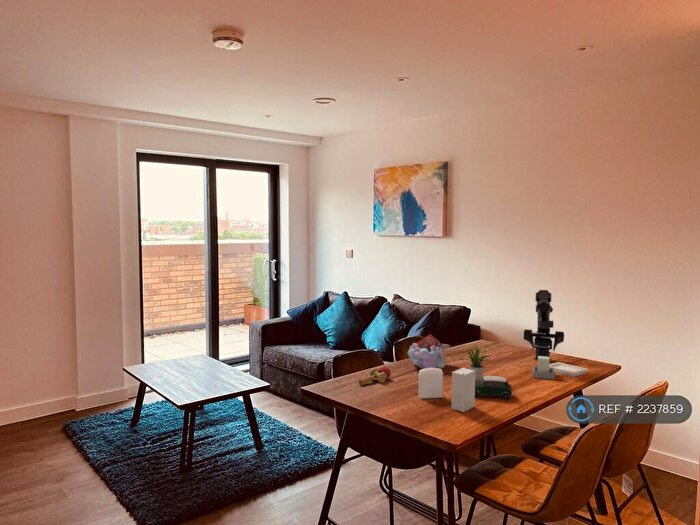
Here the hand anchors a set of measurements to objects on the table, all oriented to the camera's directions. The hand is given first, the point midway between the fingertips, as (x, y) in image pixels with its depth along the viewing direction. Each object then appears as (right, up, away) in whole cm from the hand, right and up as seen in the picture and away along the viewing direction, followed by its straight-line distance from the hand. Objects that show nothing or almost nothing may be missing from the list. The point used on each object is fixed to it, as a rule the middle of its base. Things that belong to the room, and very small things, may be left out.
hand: (543, 350), depth 247 cm
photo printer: (-61, -14, -36) cm, 72 cm away
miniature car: (-35, -14, -34) cm, 51 cm away
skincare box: (-50, -14, -50) cm, 72 cm away
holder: (-2, -12, -4) cm, 13 cm away
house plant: (-36, -12, -11) cm, 40 cm away
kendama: (-83, -13, -14) cm, 85 cm away
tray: (+13, -11, +5) cm, 18 cm away
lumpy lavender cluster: (-55, -11, +13) cm, 57 cm away
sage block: (-2, -12, -4) cm, 13 cm away
